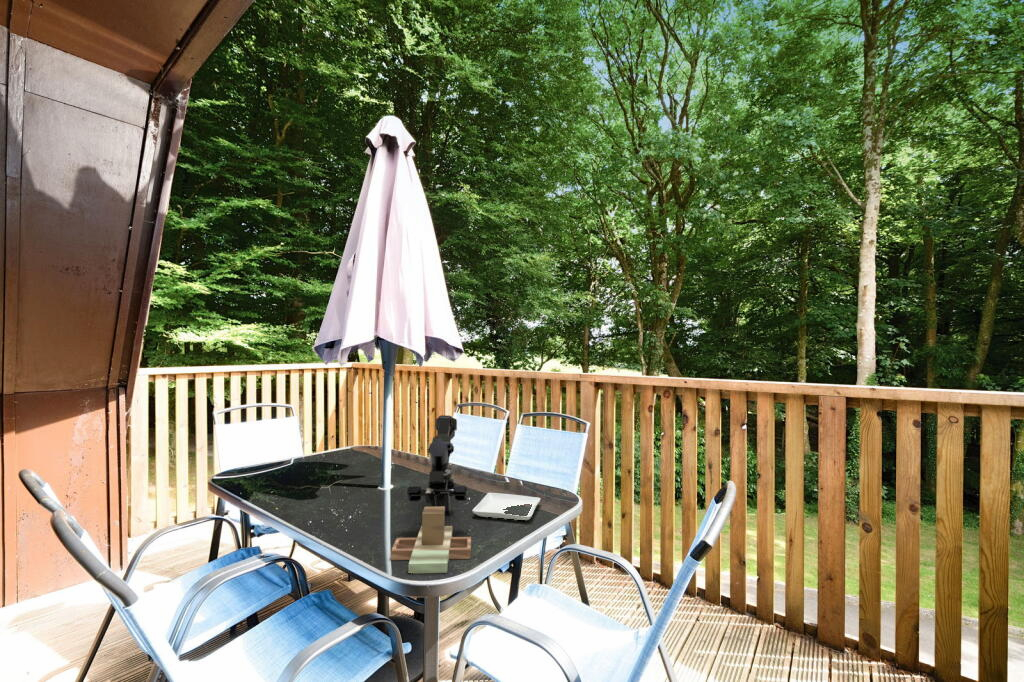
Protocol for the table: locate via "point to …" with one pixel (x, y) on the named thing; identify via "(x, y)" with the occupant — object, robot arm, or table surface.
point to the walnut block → (433, 525)
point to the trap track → (431, 552)
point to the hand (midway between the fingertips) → (435, 518)
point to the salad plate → (504, 505)
